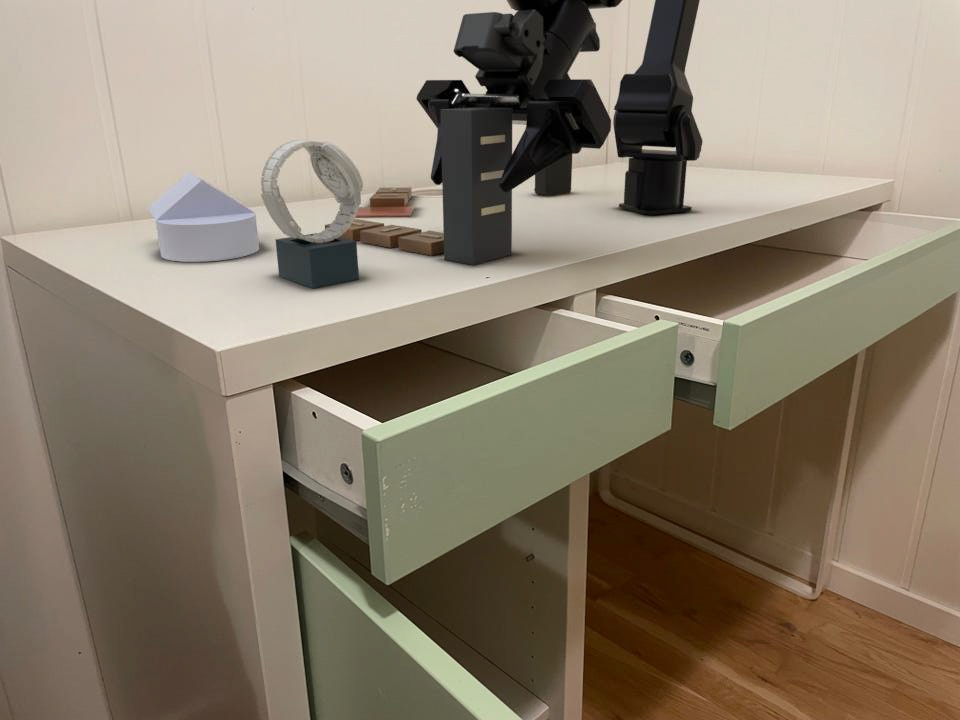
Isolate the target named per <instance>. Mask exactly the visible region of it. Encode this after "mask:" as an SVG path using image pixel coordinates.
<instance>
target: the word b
mask: <svg viewBox="0 0 960 720" xmlns="http://www.w3.org/2000/svg"><path fill="white" fill-rule="evenodd" d="M412 191H413V190H412V186H411V187H409V186H408V187H379V188H378V189H377V190H376V191H375V193H373V195H371V197H370V198H369V206H359V208H358V211H357V214H356V217H355V218H377V217H378V218H385V217H387V218H390V217H391V218H392V217H396V218H397V217H401V218H402V217H405V218H406V217H407V218H408V217H411V215H412V214H413V213H414V211H415V206H407V204H408V203H409V201H410V200H411V198H412V197H413V195H412V194H413V192H412Z"/></svg>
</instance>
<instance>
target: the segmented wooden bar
mask: <svg viewBox="0 0 960 720" xmlns="http://www.w3.org/2000/svg"><path fill="white" fill-rule="evenodd" d="M330 224H331V223H326V224H324V230H325V229H326V228H329V225H330ZM340 238H344V239H348V240H352V241H356V242H357V241H360V243H362V244H365V245H366V244H367V245H371V246H378V247H383V248H389V249H392V248H396V247H398V250H400V251H405V252H410V253H414V254H419V255H425V256H431V257H432V256H435V255H440V254H444V232H441V231H436V230H435V231H434V230H426V231H422V229H420V228H415V227H410V226H402V225H398V224H397V225H396V224H388V225H385V223H384V222H377V221H373V220H372V221H371V220H364V219H360V218H359V219H358V218H355V219H354V221H353V223H352V224H351V226H350V227H349V229H348V230H347V231H346V232H345V233H343V235H341V236H340Z"/></svg>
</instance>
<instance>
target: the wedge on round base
mask: <svg viewBox="0 0 960 720" xmlns="http://www.w3.org/2000/svg"><path fill="white" fill-rule="evenodd" d="M147 210H148V211H149V212H150V214H151V216H152V218H153V219H154V220H155V225H156V231H157V238H158V239H157V240H158V245H159V252H160V257H161V258H162V259H164V260H167V261H173V262H181V263H182V262H183V263H184V262H185V263H200V262H201V263H202V262H216V261H218V262H219V261H226V260H231V259H232V260H233V259H239V258H243V257H246V256H250V255H252V254H255V253H257V252H258V251H259V250H260V243H259V233H258V223H257V216H256V215H257V214H256V212H255V211H253V210H252V209H251V208H249V207H248V206H246V205H244V204H243V203H242V202H241V201H239V200H237V199H235V198H234V197H233V196H231V195H230V194H227V192H224V191H222V190H221V189H219V188H218V187H216V186H214V185H212V184H211V183H210V182H209V181H208V182H207V181H206V180H204V179H203V178H201V177H200V176H198V175H197V174H195V173H193V172H191V171H188V172H187V173H186V174H185V175H184V176H182V177H181V178H180V179H179V180H177V182H175V183H174V184H173V185H172V186H171V187H170V188H168V189H167V190H166V191H165V192H164V193H163V194H161V195H160V196H159V197H158V198H157V199H156V200H155V201H154V202H152V203H151V204H150V205H149V206H148V207H147Z"/></svg>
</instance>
